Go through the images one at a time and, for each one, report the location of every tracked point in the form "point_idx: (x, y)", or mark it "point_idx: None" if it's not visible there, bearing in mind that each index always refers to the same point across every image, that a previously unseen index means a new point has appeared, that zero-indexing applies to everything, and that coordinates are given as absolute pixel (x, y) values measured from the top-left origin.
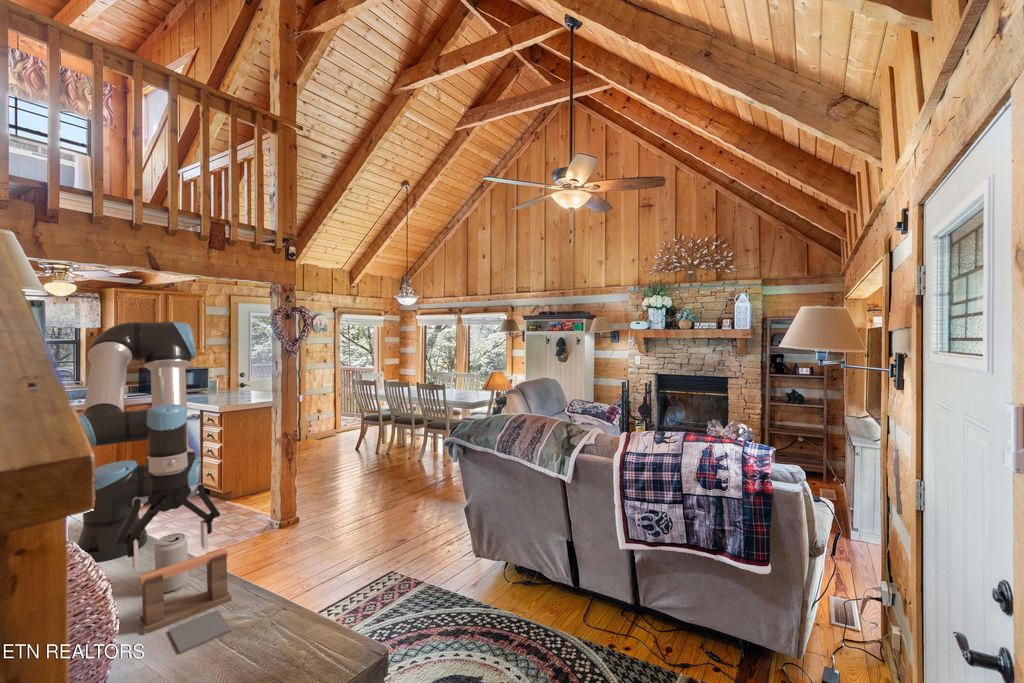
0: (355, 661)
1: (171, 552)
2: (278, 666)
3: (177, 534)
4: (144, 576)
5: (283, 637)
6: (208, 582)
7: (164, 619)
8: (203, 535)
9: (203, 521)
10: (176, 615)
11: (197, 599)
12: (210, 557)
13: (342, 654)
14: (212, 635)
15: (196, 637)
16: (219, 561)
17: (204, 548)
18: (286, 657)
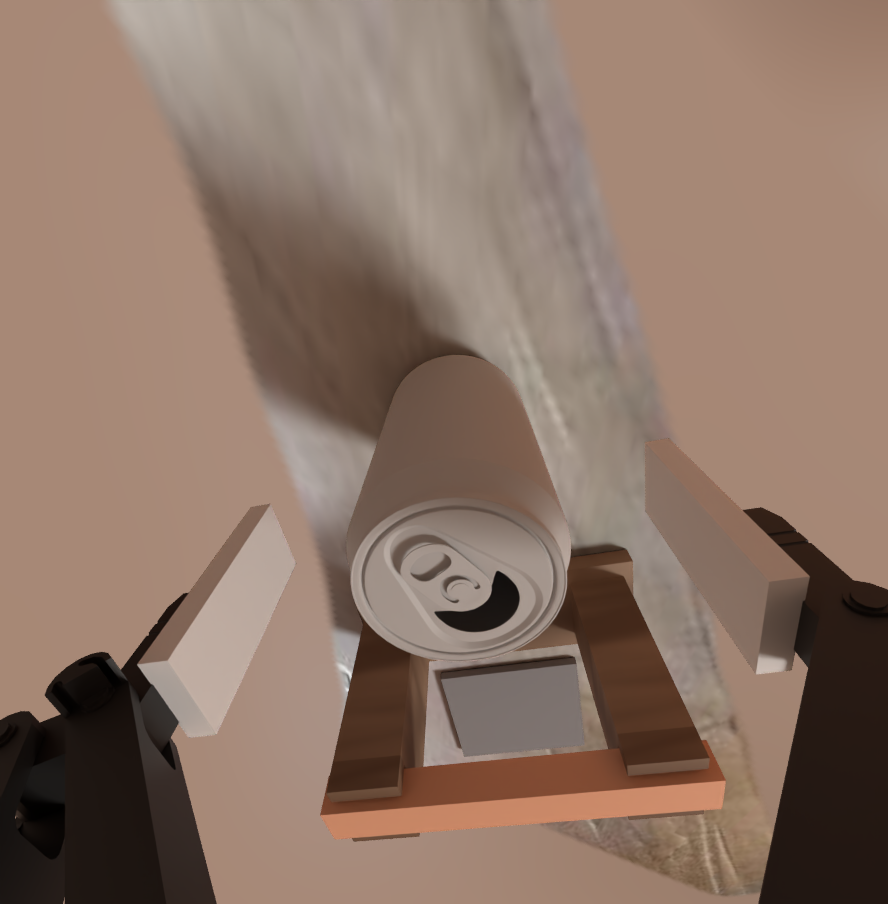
0: (741, 884)
1: (457, 619)
2: (627, 846)
3: (512, 531)
4: (344, 826)
5: None
6: (584, 640)
7: None
8: (692, 573)
9: (785, 617)
10: None
11: None
12: (630, 810)
13: (735, 868)
14: (539, 746)
15: (504, 735)
16: None
17: (649, 516)
18: (649, 837)
